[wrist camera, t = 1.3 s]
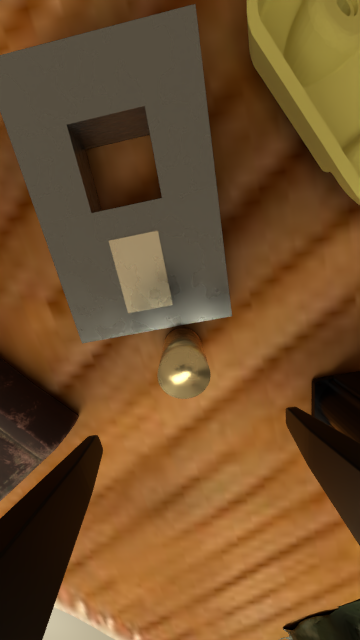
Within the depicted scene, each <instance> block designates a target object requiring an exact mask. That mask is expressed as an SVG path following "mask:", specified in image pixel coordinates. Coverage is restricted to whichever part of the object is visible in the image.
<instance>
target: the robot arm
mask: <svg viewBox="0 0 360 640" xmlns="http://www.w3.org/2000/svg"><path fill="white" fill-rule="evenodd" d="M317 383H318V384H317ZM286 424H287V427H288V429H289V431H290V433H291V435H292V437H293V438H294V440H295V442H296V444H297V446H298V448H299V450H300V452H301V454H302V455H303V457H304V459H305V461H306V463H307V465H308V466H309V468H310V469H311V471H312V473H313V474H314V476H315V477H316V479H317V480H318V482H319V484H320V485H321V487H322V488H323V490H324V491H325V493H326V494H327V496H328V497H329V499H330V501H331V502H332V504H333V505H334V507H335V508H336V510H337V511H338V513H339V514H340V516H341V518H342V519H343V521H344V522H345V524H346V525H347V527H348V528H349V530H350V532H351V533H352V535H353V536H354V538H355V539H356V541H357V542H358V544H359V545H360V372H354V373H347V374H341V375H335V376H329V377H323V378H317V379H314V380H313V381H312V416H311V415H310V414H308V413H306V412H304V411H303V410H301V409H299V408H297V407H288V408H286ZM102 453H103V448H102V445H101V442H100V439H99V437H98V435H93V436H89V437H87V438H86V439H85V440H84V441H83V442H82V443H81V444H80V445H79V446H77V447H76V448H75V449H74V450H73V451H72V452H71V453H70V454H69V455H68V456H67V457H66V458H65V459H64V460H63V461H61V462H60V463H59V464H58V465H57V466H56V467H55V468H54V469H53V470H52V471H51V472H50V473H49V474H48V475H46V476H45V477H44V478H43V479H42V480H41V481H40V482H39V483H38V484H37V485H36V486H35V487H34V488H33V489H32V490H30V491H29V492H28V493H27V494H26V495H25V496H24V497H23V498H22V499H21V500H20V501H19V502H18V503H17V504H15V505H14V506H13V507H12V508H11V509H10V510H9V511H8V512H7V513H6V514H5V515H4V516H3V517H2V518H0V640H42V639H43V636H44V633H45V630H46V627H47V624H48V621H49V619H50V616H51V613H52V610H53V607H54V604H55V601H56V598H57V595H58V592H59V589H60V586H61V583H62V581H63V578H64V575H65V572H66V569H67V566H68V563H69V560H70V557H71V554H72V551H73V548H74V545H75V542H76V540H77V537H78V534H79V531H80V528H81V525H82V522H83V519H84V516H85V513H86V510H87V507H88V504H89V501H90V498H91V495H92V492H93V488H94V485H95V481H96V477H97V473H98V469H99V465H100V461H101V457H102Z"/></svg>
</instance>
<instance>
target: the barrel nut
mask: <svg viewBox="0 0 360 640" xmlns="http://www.w3.org/2000/svg"><path fill="white" fill-rule="evenodd" d="M158 381H159V384H160V386H161V388H162V389H163V390H164V391H165V392H166V393H167V394H169V395H171V396H173V397H176V398H181V399H187V398H192V397H195V396H197V395H199V394H200V393H202V392H203V391H204V390H205V389H206V387H207V386H208V384H209V381H210V369H209V366H208V363H207V360H206V357H205V353H204V350H203V347H202V344H201V341H200V338H199V336H198V335H197V334H196V333H195V332H194V331H193V330H191V329H188V328H177V329H175V330H173V331H171V332H170V333H169V334H168V335H167V337H166V339H165V342H164V347H163V351H162V356H161V360H160V365H159V369H158Z"/></svg>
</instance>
